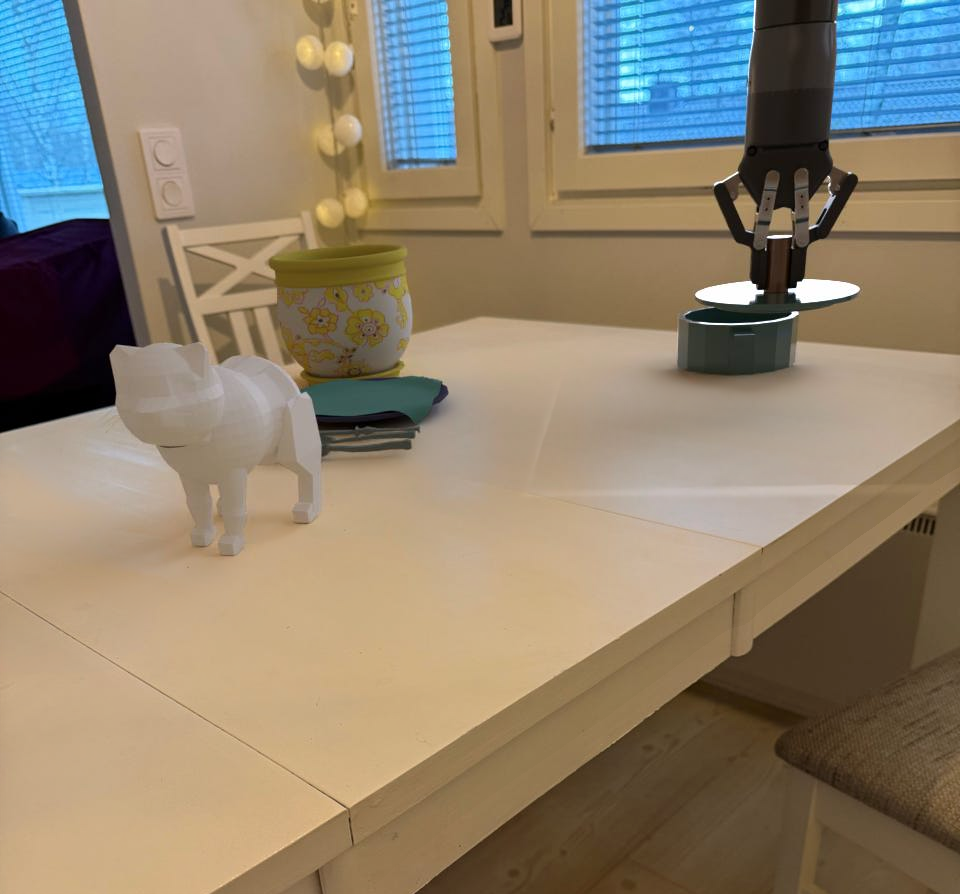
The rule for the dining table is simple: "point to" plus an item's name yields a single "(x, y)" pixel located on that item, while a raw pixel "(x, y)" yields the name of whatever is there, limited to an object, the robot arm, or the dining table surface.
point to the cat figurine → (219, 428)
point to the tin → (735, 341)
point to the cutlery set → (373, 408)
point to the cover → (777, 288)
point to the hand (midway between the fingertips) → (776, 287)
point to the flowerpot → (344, 310)
